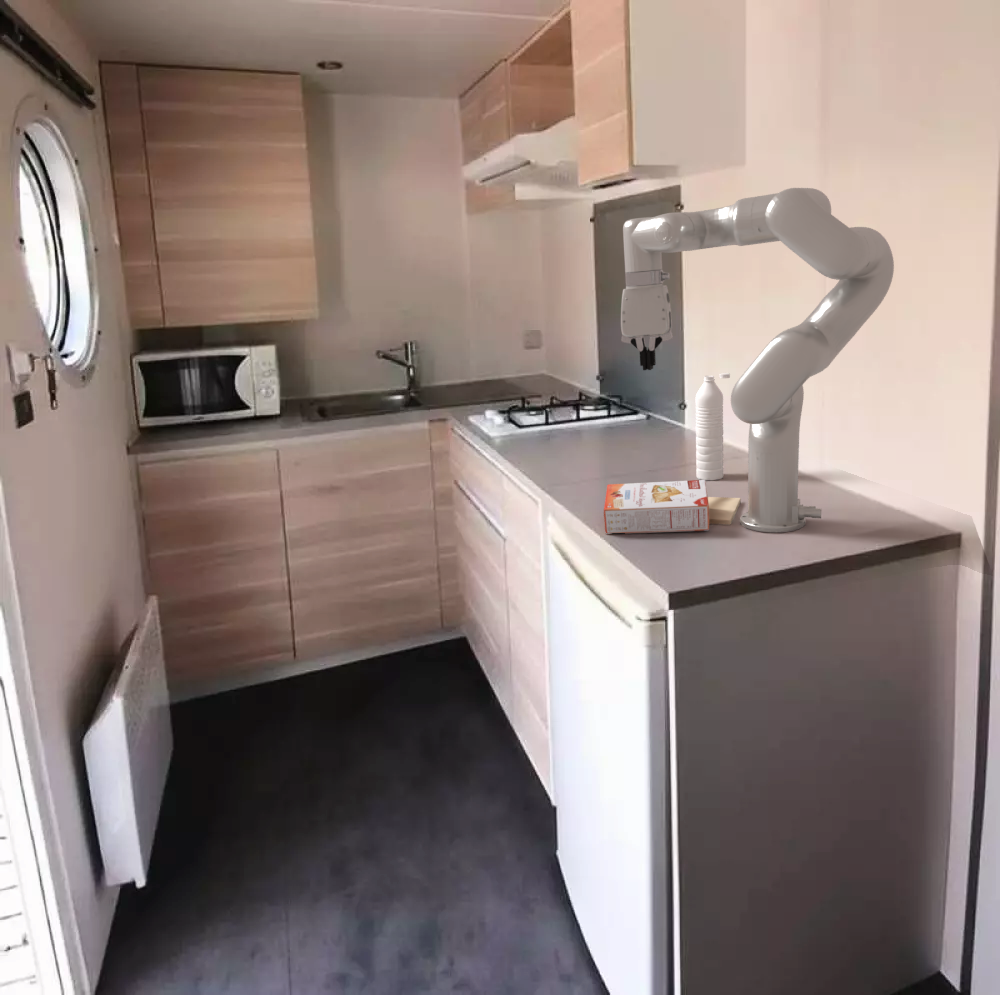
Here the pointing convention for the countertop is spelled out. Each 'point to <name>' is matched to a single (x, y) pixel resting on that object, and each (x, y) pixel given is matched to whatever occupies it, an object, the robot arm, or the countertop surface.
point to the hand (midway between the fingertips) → (648, 369)
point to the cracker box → (656, 507)
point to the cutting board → (722, 509)
